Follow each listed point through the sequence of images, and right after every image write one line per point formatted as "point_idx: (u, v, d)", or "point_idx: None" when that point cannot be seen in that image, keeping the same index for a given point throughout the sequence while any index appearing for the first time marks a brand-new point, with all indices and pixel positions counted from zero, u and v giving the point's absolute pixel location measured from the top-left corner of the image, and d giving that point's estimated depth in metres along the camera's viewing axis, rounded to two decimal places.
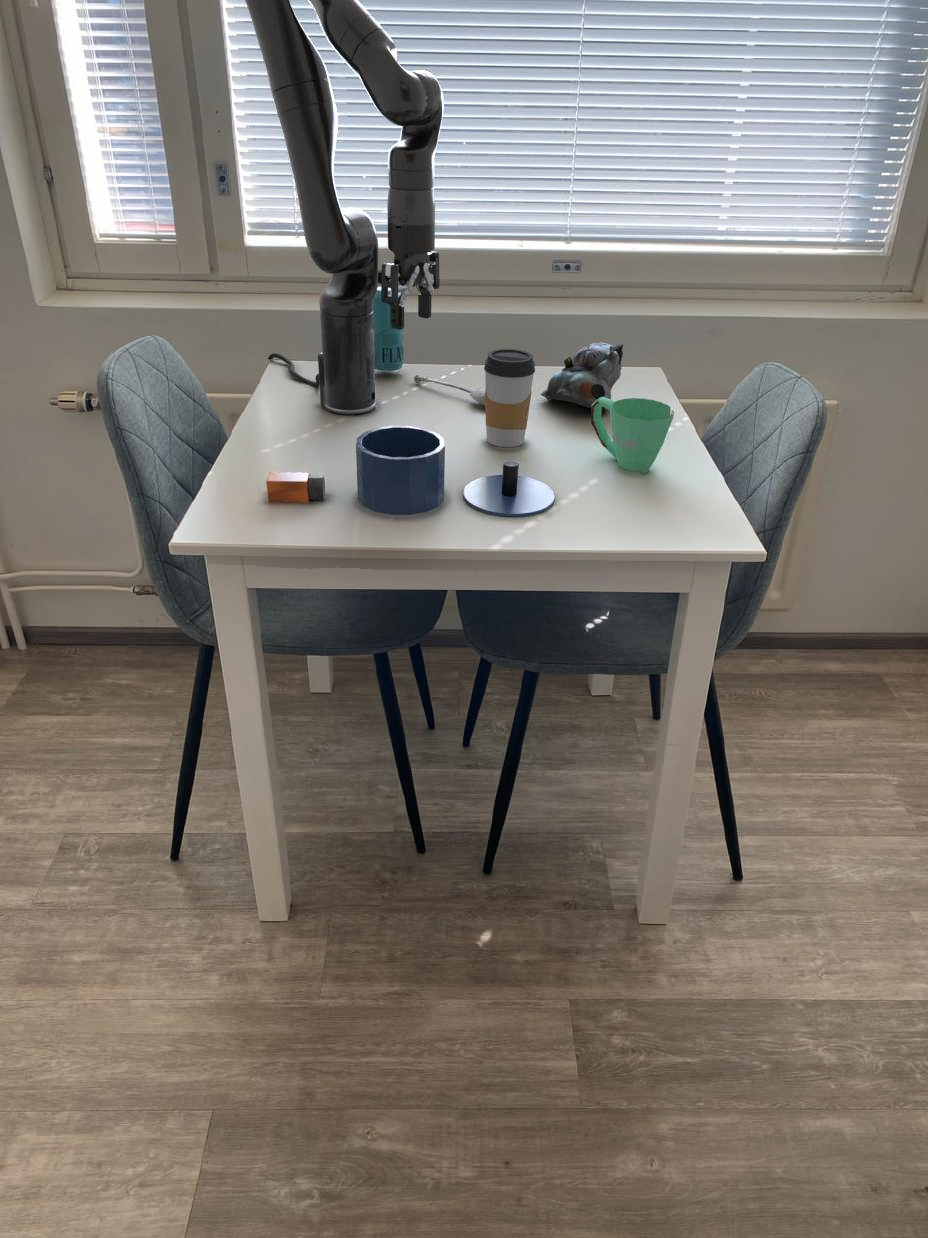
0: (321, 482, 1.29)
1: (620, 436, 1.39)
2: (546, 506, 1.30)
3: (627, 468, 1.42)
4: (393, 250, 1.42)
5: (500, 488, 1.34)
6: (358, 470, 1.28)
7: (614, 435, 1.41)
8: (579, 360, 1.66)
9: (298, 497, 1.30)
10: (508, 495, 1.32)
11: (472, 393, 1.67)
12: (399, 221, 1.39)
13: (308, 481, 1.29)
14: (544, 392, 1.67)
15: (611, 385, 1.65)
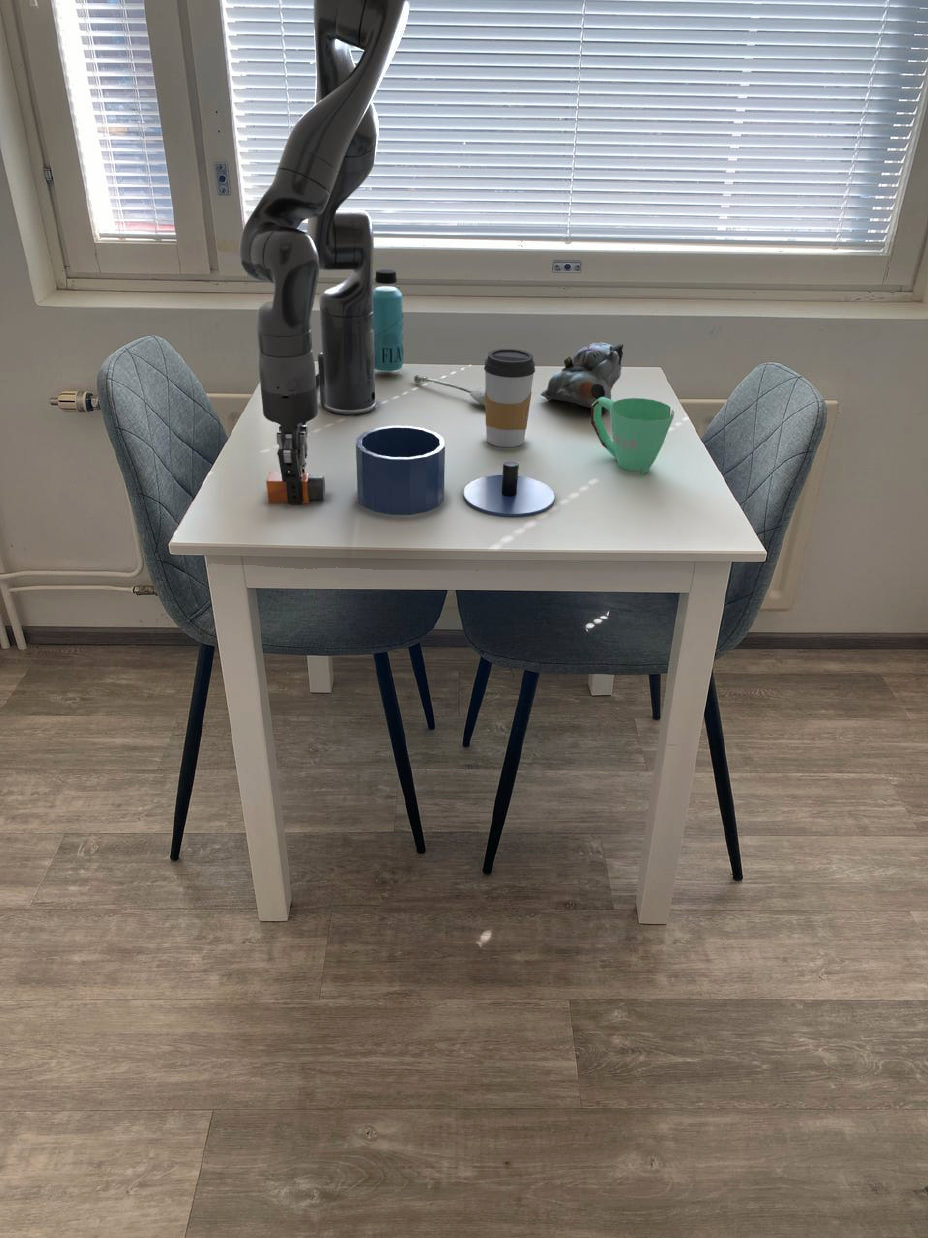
0: (321, 482, 1.29)
1: (620, 436, 1.39)
2: (546, 506, 1.30)
3: (627, 468, 1.42)
4: (279, 422, 1.22)
5: (500, 488, 1.34)
6: (358, 470, 1.28)
7: (614, 435, 1.41)
8: (579, 360, 1.66)
9: None
10: (508, 495, 1.32)
11: (472, 393, 1.67)
12: (286, 391, 1.19)
13: (308, 481, 1.29)
14: (544, 392, 1.67)
15: (611, 385, 1.65)
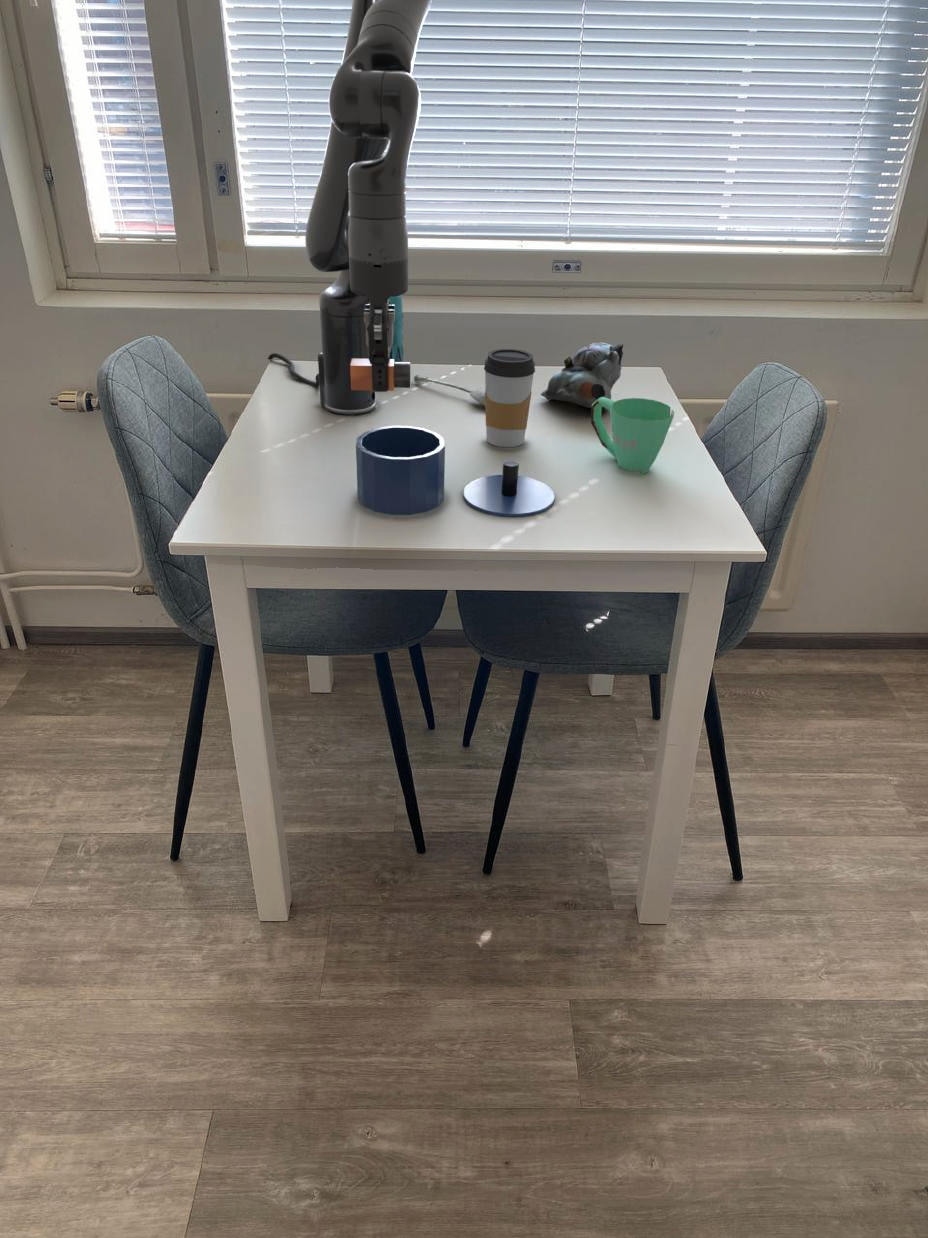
0: (408, 368, 1.21)
1: (620, 436, 1.39)
2: (546, 506, 1.30)
3: (627, 468, 1.42)
4: (369, 295, 1.13)
5: (500, 488, 1.34)
6: (358, 470, 1.28)
7: (614, 435, 1.41)
8: (579, 360, 1.66)
9: None
10: (508, 495, 1.32)
11: (472, 393, 1.67)
12: (378, 259, 1.11)
13: (394, 366, 1.21)
14: (544, 392, 1.67)
15: (611, 385, 1.65)
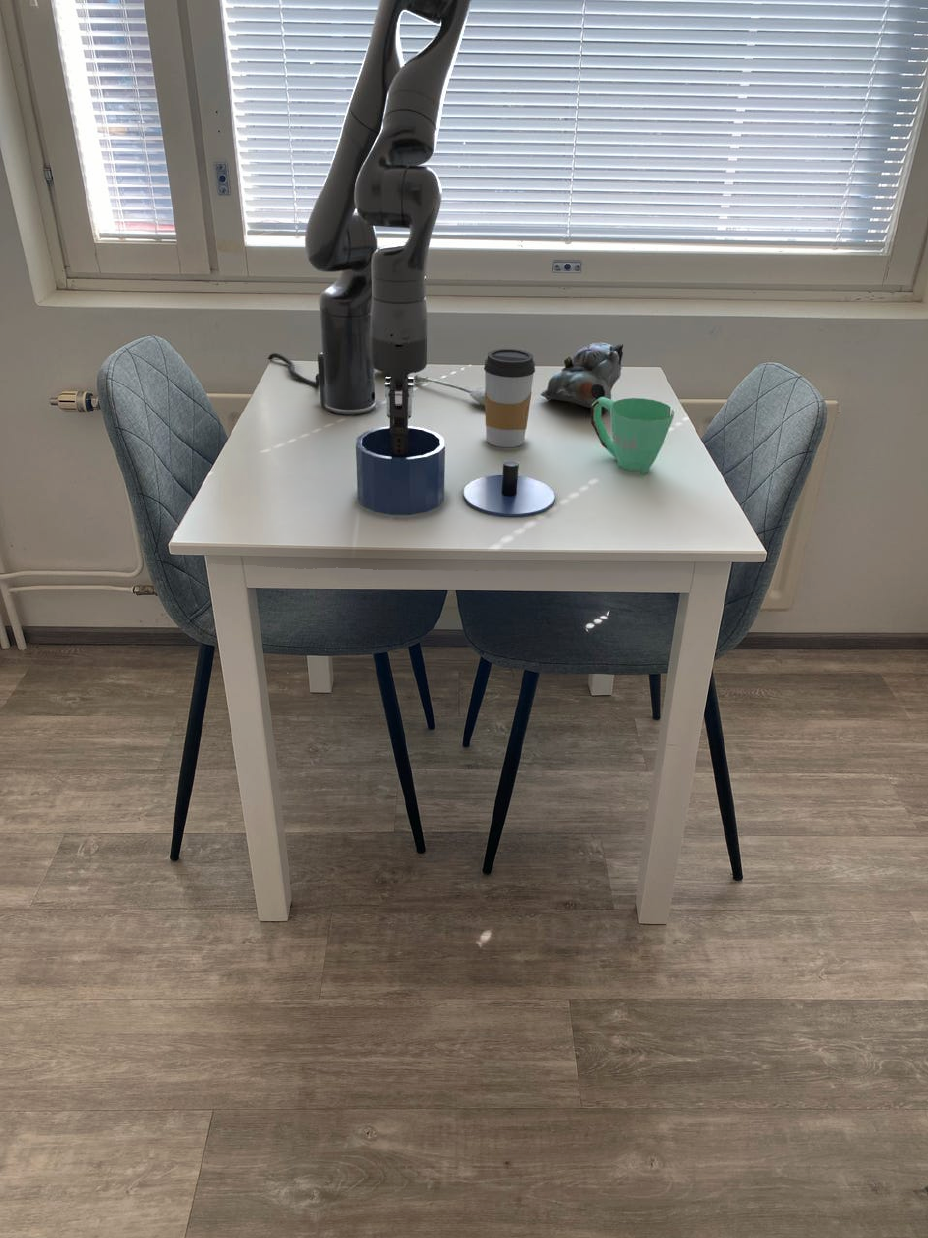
0: None
1: (620, 436, 1.39)
2: (546, 506, 1.30)
3: (627, 468, 1.42)
4: (390, 372, 1.19)
5: (500, 488, 1.34)
6: (358, 470, 1.28)
7: (614, 435, 1.41)
8: (579, 360, 1.66)
9: None
10: (508, 495, 1.32)
11: (472, 393, 1.67)
12: (400, 339, 1.16)
13: None
14: (544, 392, 1.67)
15: (611, 385, 1.65)
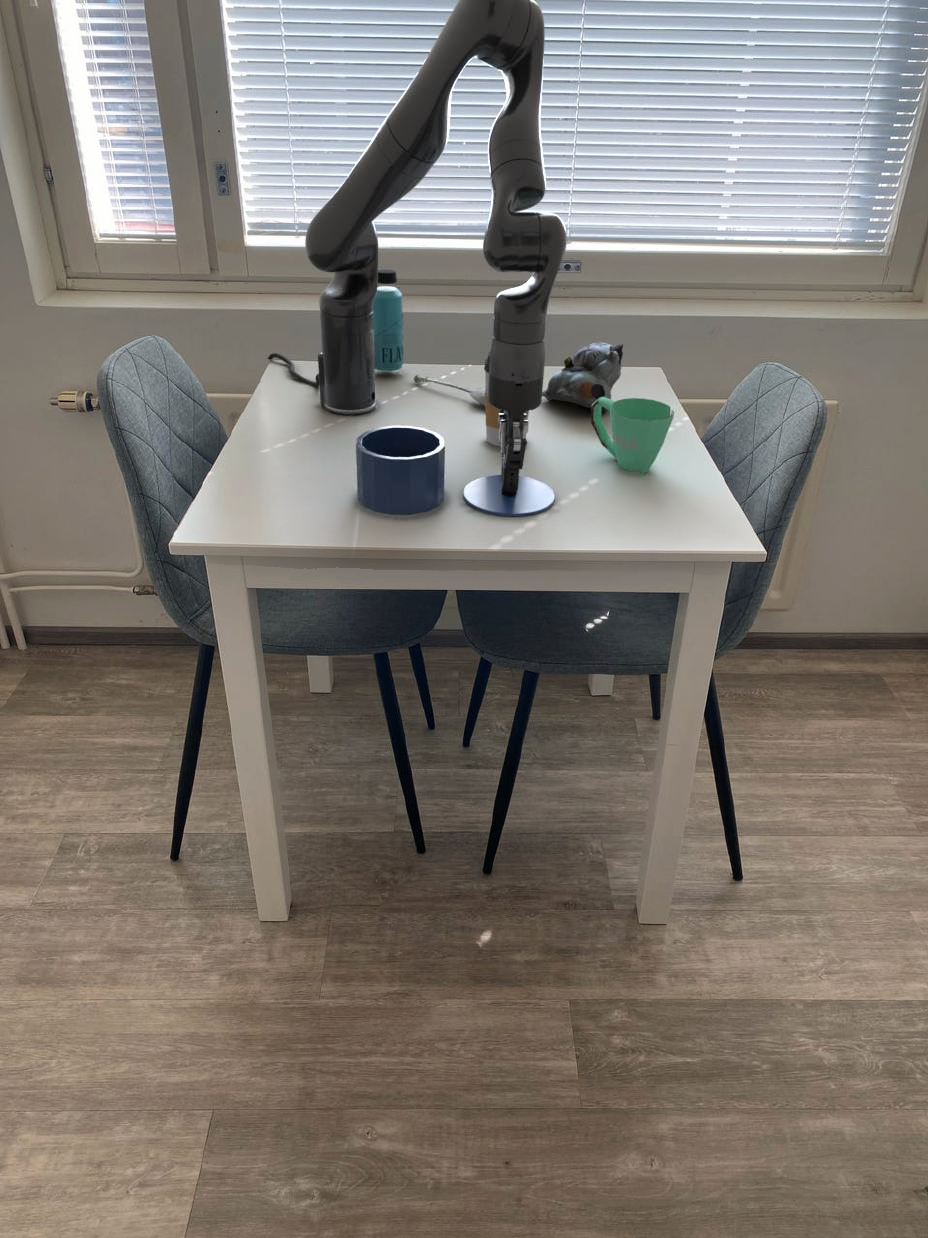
0: None
1: (620, 436, 1.39)
2: (546, 506, 1.30)
3: (627, 468, 1.42)
4: (509, 410, 1.22)
5: (500, 488, 1.34)
6: (358, 470, 1.28)
7: (614, 435, 1.41)
8: (579, 360, 1.66)
9: None
10: (508, 495, 1.32)
11: (472, 393, 1.67)
12: (520, 378, 1.20)
13: None
14: (544, 392, 1.67)
15: (611, 385, 1.65)
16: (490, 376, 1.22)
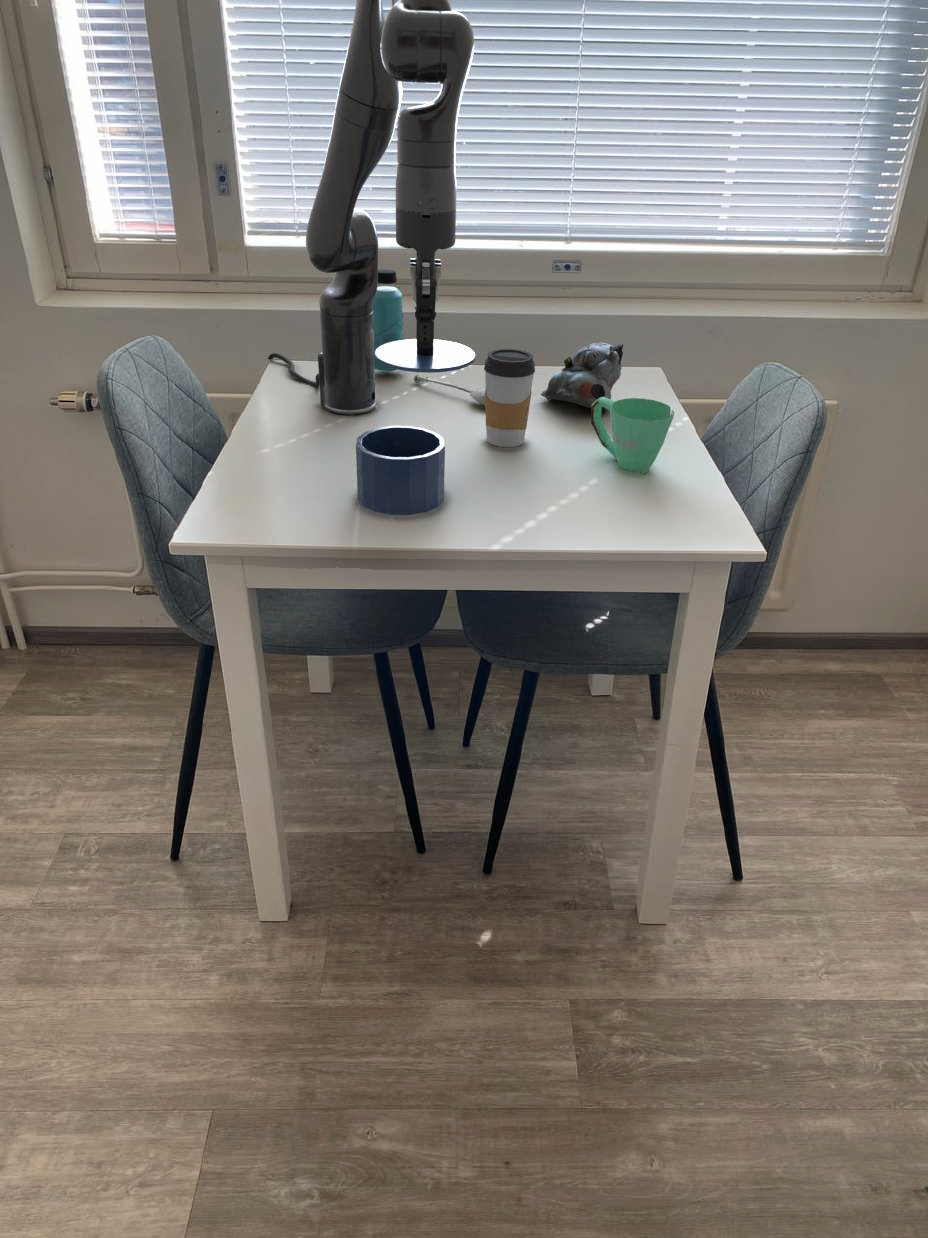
0: None
1: (620, 436, 1.39)
2: (464, 363, 1.18)
3: (627, 468, 1.42)
4: (417, 247, 1.10)
5: (416, 349, 1.22)
6: (358, 470, 1.28)
7: (614, 435, 1.41)
8: (579, 360, 1.66)
9: None
10: (423, 354, 1.20)
11: (472, 393, 1.67)
12: (428, 209, 1.08)
13: None
14: (544, 392, 1.67)
15: (611, 385, 1.65)
16: (396, 210, 1.10)
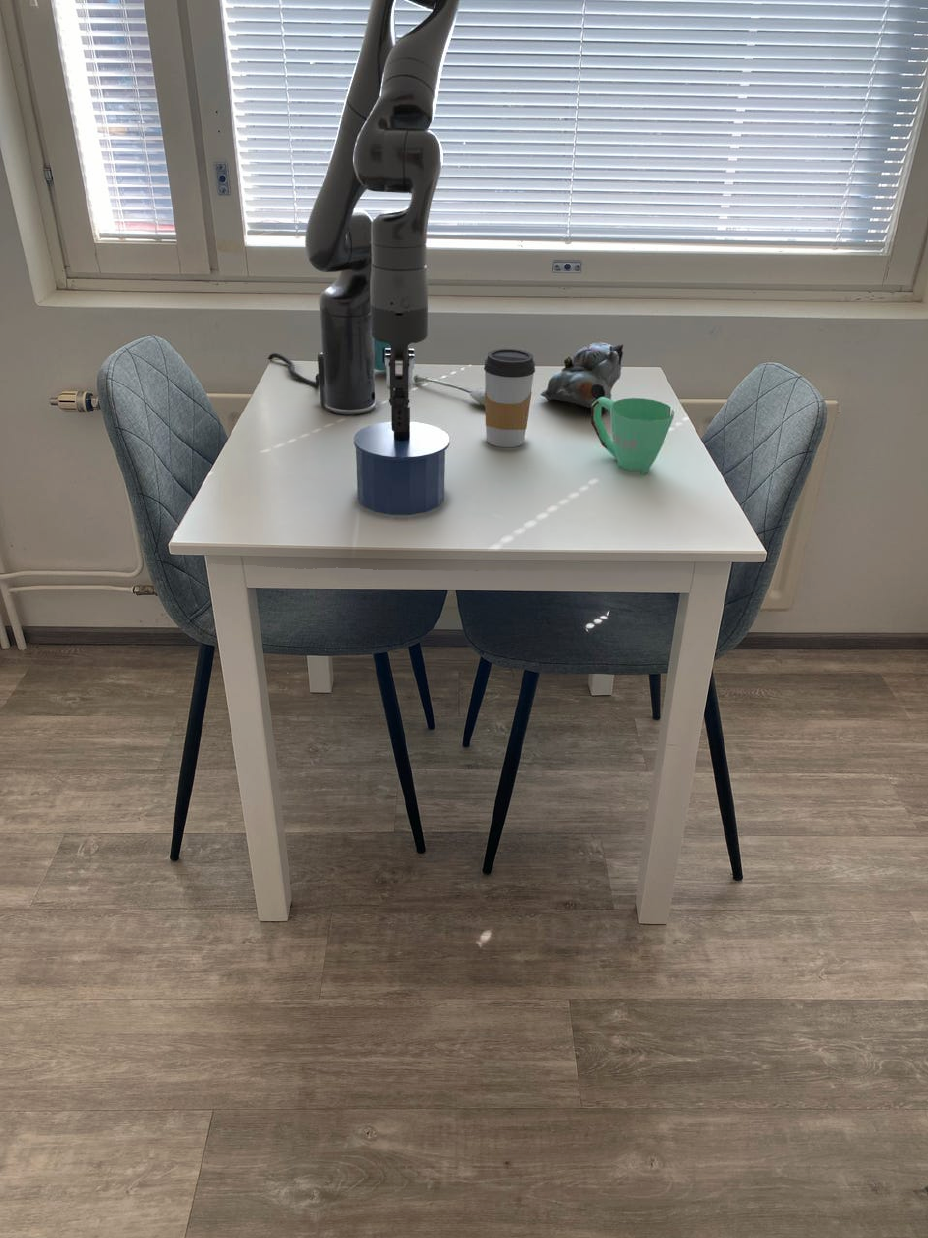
0: None
1: (620, 436, 1.39)
2: (438, 450, 1.24)
3: (627, 468, 1.42)
4: (390, 342, 1.16)
5: (394, 433, 1.29)
6: (358, 470, 1.28)
7: (614, 435, 1.41)
8: (579, 360, 1.66)
9: None
10: (400, 440, 1.26)
11: (472, 393, 1.67)
12: (400, 307, 1.14)
13: None
14: (544, 392, 1.67)
15: (611, 385, 1.65)
16: (371, 306, 1.16)
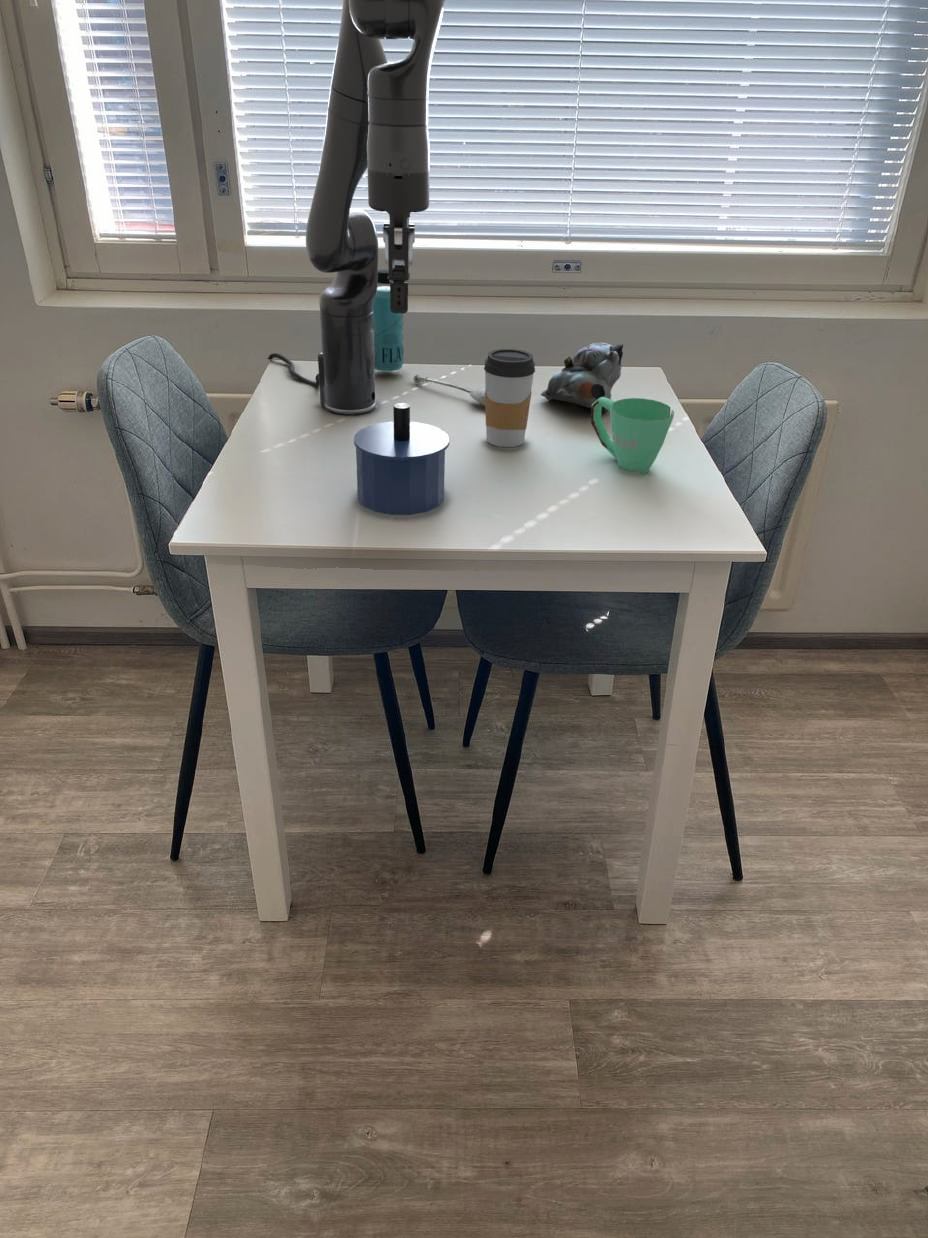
0: None
1: (620, 436, 1.39)
2: (438, 450, 1.24)
3: (627, 468, 1.42)
4: (389, 209, 1.08)
5: (394, 433, 1.29)
6: (358, 470, 1.28)
7: (614, 435, 1.41)
8: (579, 360, 1.66)
9: None
10: (400, 440, 1.26)
11: (472, 393, 1.67)
12: (399, 169, 1.05)
13: None
14: (544, 392, 1.67)
15: (611, 385, 1.65)
16: (368, 171, 1.08)
